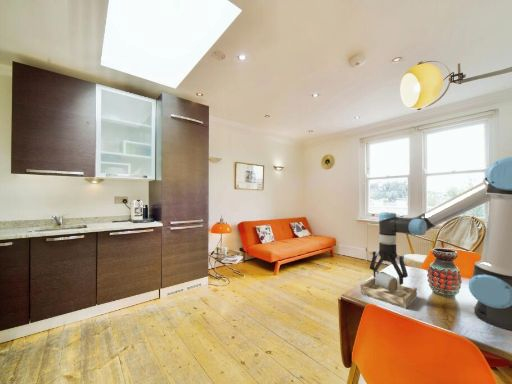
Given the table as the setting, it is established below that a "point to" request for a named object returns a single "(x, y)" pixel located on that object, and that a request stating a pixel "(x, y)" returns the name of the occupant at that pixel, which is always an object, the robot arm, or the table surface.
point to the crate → (389, 294)
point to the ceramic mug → (386, 281)
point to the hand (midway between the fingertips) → (387, 286)
